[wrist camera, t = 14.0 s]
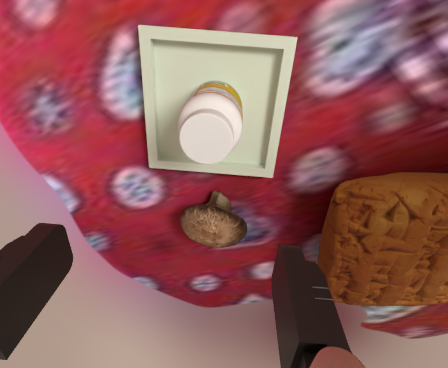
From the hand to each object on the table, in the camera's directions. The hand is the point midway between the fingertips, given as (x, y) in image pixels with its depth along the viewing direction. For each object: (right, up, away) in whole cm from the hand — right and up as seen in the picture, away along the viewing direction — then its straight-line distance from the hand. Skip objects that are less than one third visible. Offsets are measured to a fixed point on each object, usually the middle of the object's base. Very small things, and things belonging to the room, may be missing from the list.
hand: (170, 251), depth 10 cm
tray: (+1, +11, +19) cm, 21 cm away
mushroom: (+1, -1, +25) cm, 25 cm away
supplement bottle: (+1, +11, +18) cm, 21 cm away
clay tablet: (+24, -2, +25) cm, 35 cm away
